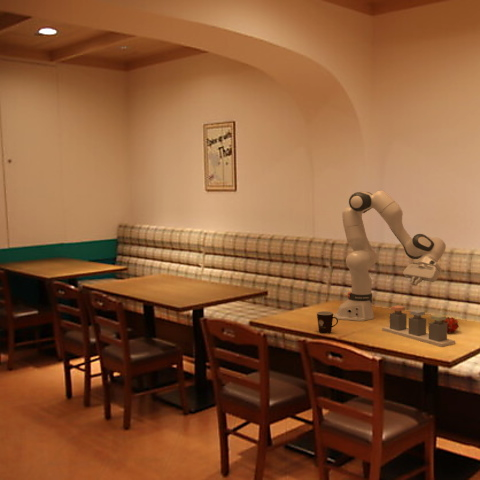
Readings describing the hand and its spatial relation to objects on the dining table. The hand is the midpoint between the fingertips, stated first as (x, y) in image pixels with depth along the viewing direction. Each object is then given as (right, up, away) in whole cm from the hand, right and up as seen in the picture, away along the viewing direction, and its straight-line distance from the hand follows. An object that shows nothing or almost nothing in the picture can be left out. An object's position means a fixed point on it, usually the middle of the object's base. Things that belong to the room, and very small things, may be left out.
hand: (413, 284), depth 325 cm
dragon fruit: (+17, -24, -6) cm, 30 cm away
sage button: (+5, -18, -26) cm, 32 cm away
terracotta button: (-9, -16, -5) cm, 19 cm away
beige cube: (-2, -17, -15) cm, 23 cm away
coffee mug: (-46, -25, -3) cm, 53 cm away
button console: (-2, -25, -14) cm, 29 cm away
